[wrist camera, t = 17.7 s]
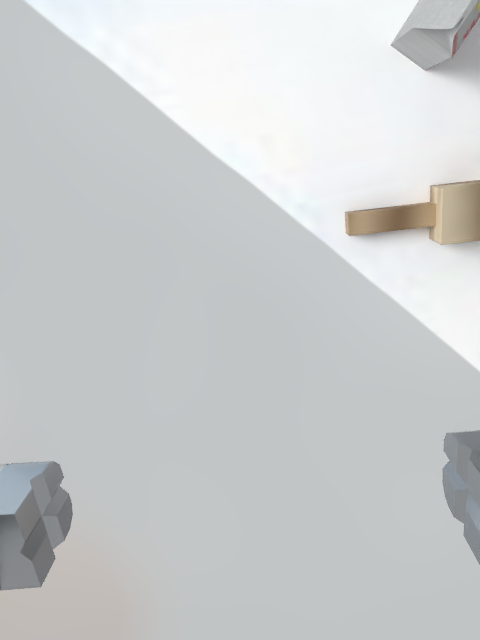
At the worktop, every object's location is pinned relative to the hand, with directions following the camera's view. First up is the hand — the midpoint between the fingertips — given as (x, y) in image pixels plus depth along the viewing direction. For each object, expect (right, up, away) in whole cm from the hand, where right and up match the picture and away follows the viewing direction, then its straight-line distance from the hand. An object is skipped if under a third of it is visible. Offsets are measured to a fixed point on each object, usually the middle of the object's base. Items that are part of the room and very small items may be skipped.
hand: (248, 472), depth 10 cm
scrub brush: (+18, +13, +34) cm, 41 cm away
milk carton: (+16, +28, +29) cm, 43 cm away
